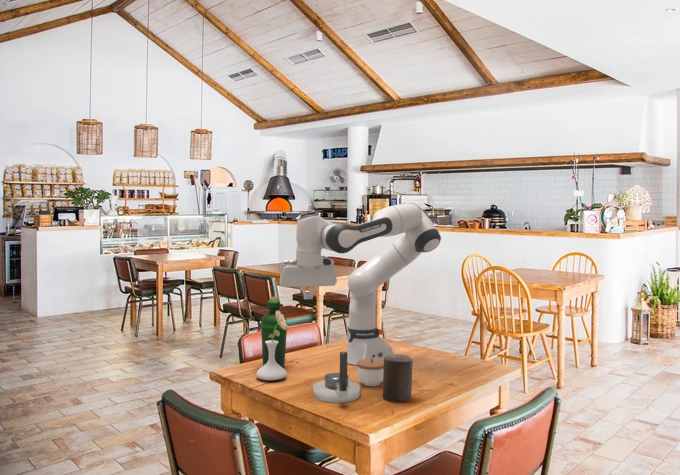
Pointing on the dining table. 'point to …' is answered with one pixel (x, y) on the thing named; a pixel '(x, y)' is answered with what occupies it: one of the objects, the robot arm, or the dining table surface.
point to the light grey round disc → (335, 393)
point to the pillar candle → (397, 378)
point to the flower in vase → (273, 355)
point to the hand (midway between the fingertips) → (308, 299)
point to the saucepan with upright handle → (339, 377)
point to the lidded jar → (370, 371)
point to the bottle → (268, 327)
